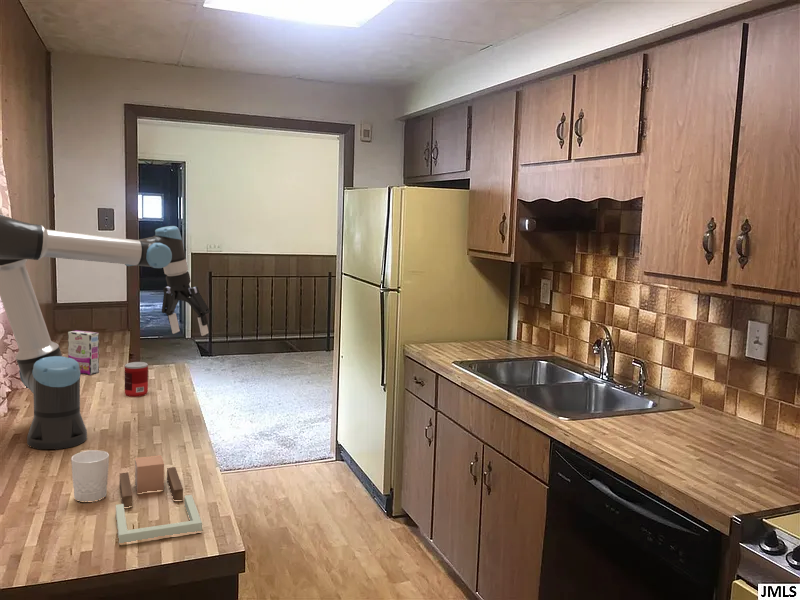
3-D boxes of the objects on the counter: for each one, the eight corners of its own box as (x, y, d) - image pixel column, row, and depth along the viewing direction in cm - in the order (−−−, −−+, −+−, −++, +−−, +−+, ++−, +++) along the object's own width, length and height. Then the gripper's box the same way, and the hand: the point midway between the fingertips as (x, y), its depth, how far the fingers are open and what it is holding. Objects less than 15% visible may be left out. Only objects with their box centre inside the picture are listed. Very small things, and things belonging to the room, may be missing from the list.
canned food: (151, 392, 240) (151, 362, 239) (141, 397, 232) (141, 367, 231) (131, 390, 241) (131, 361, 239) (120, 396, 233) (120, 366, 232)
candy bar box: (99, 372, 263) (99, 332, 261) (90, 375, 258) (90, 334, 256) (77, 369, 266) (76, 329, 264) (67, 371, 261) (67, 331, 259)
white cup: (114, 490, 157) (114, 450, 156) (100, 505, 149) (100, 463, 148) (81, 489, 157) (80, 449, 155) (65, 503, 149) (64, 461, 148)
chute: (122, 509, 148) (122, 496, 147) (119, 485, 160) (119, 473, 160) (182, 501, 154) (183, 488, 153) (175, 478, 166) (175, 466, 166)
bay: (119, 546, 132) (119, 535, 132) (115, 515, 145) (115, 504, 145) (201, 533, 139) (202, 522, 139) (191, 504, 152) (191, 494, 152)
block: (137, 495, 156) (137, 466, 155) (135, 485, 161) (135, 457, 160) (163, 491, 158) (164, 463, 157) (161, 481, 164) (161, 455, 163)
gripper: (212, 270, 214) (225, 331, 219) (159, 270, 226) (172, 327, 231) (196, 276, 207) (209, 339, 213) (142, 275, 219) (156, 335, 225)
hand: (190, 333), depth 222 cm, fingers open, 13 cm apart
